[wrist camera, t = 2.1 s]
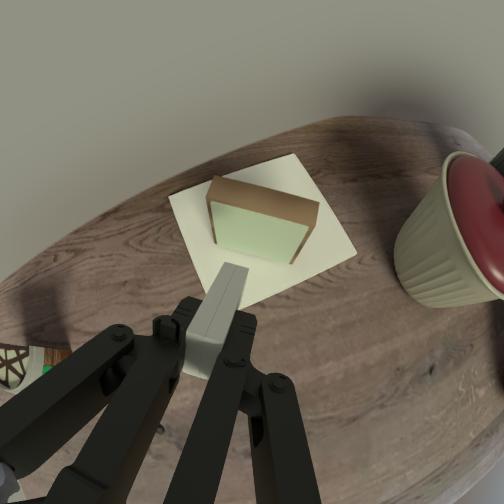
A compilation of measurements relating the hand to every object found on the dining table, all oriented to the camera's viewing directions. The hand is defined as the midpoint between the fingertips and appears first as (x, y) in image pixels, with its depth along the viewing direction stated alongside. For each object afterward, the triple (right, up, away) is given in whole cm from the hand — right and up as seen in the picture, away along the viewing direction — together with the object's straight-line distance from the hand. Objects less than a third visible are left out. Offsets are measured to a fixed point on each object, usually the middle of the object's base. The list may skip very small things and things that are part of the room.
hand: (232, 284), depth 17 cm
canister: (+27, 0, +19) cm, 33 cm away
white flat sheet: (+2, +6, +19) cm, 20 cm away
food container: (-27, -15, +10) cm, 33 cm away
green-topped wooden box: (+2, +3, +18) cm, 18 cm away
